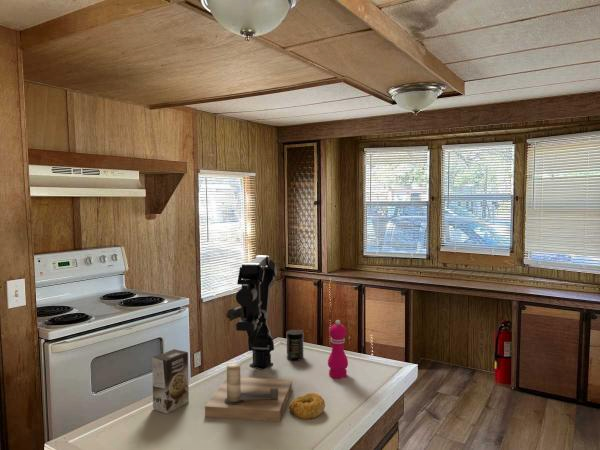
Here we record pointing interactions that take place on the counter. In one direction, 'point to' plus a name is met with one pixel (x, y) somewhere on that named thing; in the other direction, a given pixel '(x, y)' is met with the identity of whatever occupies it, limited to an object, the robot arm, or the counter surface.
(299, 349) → the supplement container
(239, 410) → the stool seat
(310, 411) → the bagel
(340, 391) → the counter surface
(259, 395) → the folding leg
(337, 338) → the pepper mill
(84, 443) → the counter surface
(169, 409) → the coffee box
